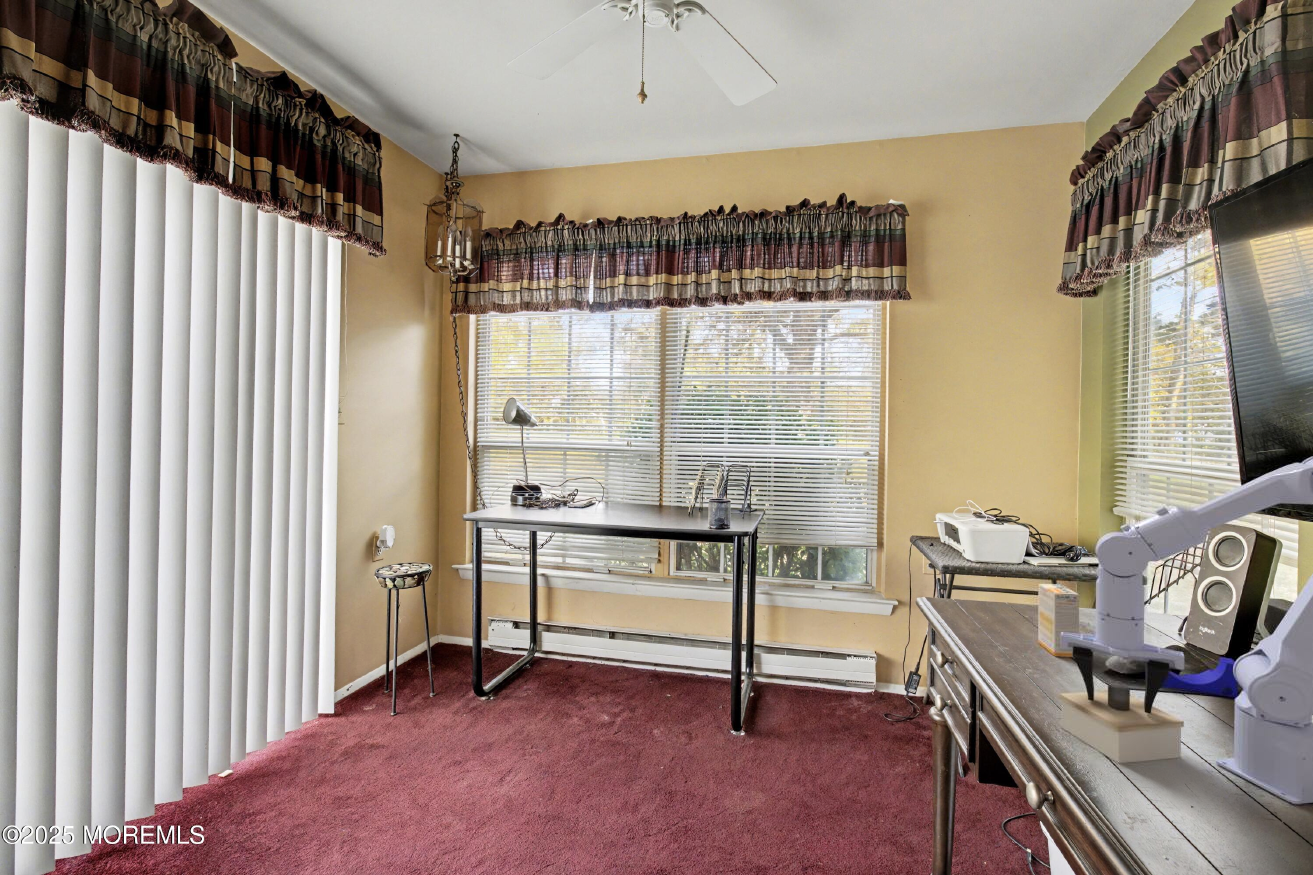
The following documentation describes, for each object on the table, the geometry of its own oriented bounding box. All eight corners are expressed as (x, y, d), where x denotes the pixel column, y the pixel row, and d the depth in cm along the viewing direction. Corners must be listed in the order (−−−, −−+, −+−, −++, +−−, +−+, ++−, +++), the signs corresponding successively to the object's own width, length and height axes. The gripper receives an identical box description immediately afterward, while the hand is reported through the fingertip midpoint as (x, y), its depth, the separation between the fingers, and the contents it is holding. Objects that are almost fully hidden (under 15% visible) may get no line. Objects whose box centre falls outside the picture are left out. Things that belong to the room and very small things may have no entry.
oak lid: (1183, 730, 85) (1184, 700, 85) (1118, 736, 84) (1119, 705, 84) (1118, 698, 96) (1118, 670, 96) (1059, 702, 94) (1059, 674, 94)
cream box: (1180, 757, 86) (1181, 726, 86) (1118, 763, 84) (1118, 731, 84) (1117, 722, 96) (1118, 694, 96) (1061, 727, 94) (1061, 699, 94)
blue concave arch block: (1227, 688, 108) (1227, 655, 108) (1237, 698, 104) (1237, 664, 104) (1143, 676, 114) (1143, 644, 114) (1150, 685, 110) (1150, 652, 110)
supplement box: (1080, 658, 122) (1081, 594, 122) (1054, 656, 123) (1054, 593, 123) (1061, 643, 130) (1062, 583, 130) (1037, 642, 131) (1037, 582, 131)
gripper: (1059, 611, 91) (1058, 700, 91) (1186, 631, 82) (1185, 729, 82) (1062, 600, 96) (1061, 684, 97) (1182, 617, 88) (1181, 709, 88)
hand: (1118, 704), depth 90 cm, fingers open, 6 cm apart
